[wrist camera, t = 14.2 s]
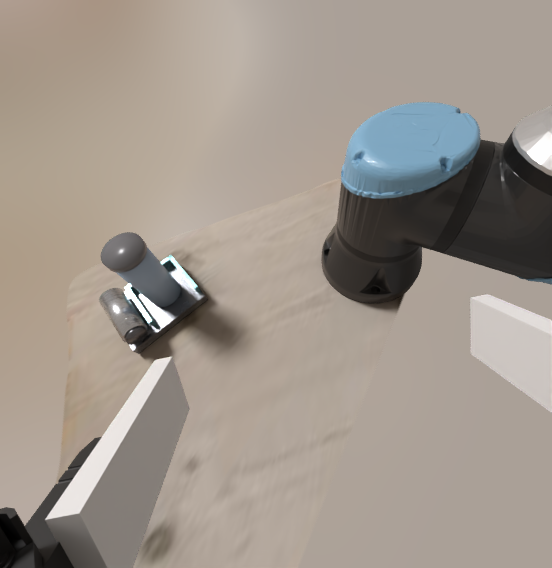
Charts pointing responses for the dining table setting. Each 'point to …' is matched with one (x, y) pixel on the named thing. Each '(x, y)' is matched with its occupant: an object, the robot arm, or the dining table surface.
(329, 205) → the dining table surface
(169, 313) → the motor mount
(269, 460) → the dining table surface
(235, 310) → the dining table surface
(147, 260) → the ball
